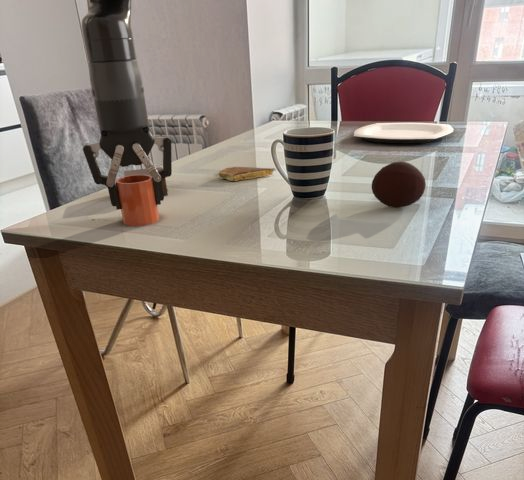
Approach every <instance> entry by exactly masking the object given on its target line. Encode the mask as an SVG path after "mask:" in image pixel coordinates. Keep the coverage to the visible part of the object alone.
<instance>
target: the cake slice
mask: <svg viewBox="0 0 524 480" xmlns="http://www.w3.org/2000/svg"><path fill="white" fill-rule="evenodd" d="M274 170H275V168H267V167H266V168H265V167H264V168H263V167H250V166H249V167H248V166H233V167H226V168H224V169H222V170H219V171H218V176H219V178H220V180H224V179H225V180H227V181H230V182H238V181H245V180H253V179H257V178H264V177H266V176H271V175H273V172H274Z"/></svg>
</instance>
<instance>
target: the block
mask: <svg viewBox="0 0 524 480" xmlns="http://www.w3.org/2000/svg"><path fill="white" fill-rule="evenodd" d="M156 169H157V170H158V171H159V170H161V169H163V166H159V167H156ZM130 175H150V176H151V174H150V173H149V171H148V170H147V169H146V168H138V169H129V170H124V171H123V177H125V176H130ZM153 180H154V179H153ZM162 187H163V194H164V196H168V195H169V194H168V185H167V181H166V178H164V179H163V180H162Z"/></svg>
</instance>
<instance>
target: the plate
mask: <svg viewBox="0 0 524 480" xmlns="http://www.w3.org/2000/svg"><path fill="white" fill-rule="evenodd" d="M453 132H454V128H453V127H452V126H451V125H450V124H445V123H431V122H430V123H429V122H376V123H372V124H368V125H364V126H361V127H359V128H357V129H356V130H354V132H353V137H354V138H360V139H363V140H365V141H366V142H371V141H372V142H371V143H382V142H383V143H382V144H426V143H430V142H432V141H435V140H438V139H441V138H444V137H447V136H449V135H451V134H452V133H453Z"/></svg>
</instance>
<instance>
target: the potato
mask: <svg viewBox="0 0 524 480" xmlns="http://www.w3.org/2000/svg"><path fill="white" fill-rule="evenodd" d="M426 186H427V183H426V178H425V176H424V175H423V173H422V172H421V171H420V170H419V169H418V168H417V167H416V166H415V165H413V164H412V163H409V162H407V161H393V162H390V163H389V164H387V165H384V166H383V167H381V168H380V169H379V170H378V171H377V173H375V175H374V177H373V179H372V181H371V192H372V194H373V196H374V197H375V198H376V200H377V201H379V203H381V204H383V205H385V206H387V207H389V208H395V209H399V208H405V207H409V206H411V205H413V204H415V203H417V202H419V200H420V199H421V198H422V196H423V195H424V193H425V190H426Z"/></svg>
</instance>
